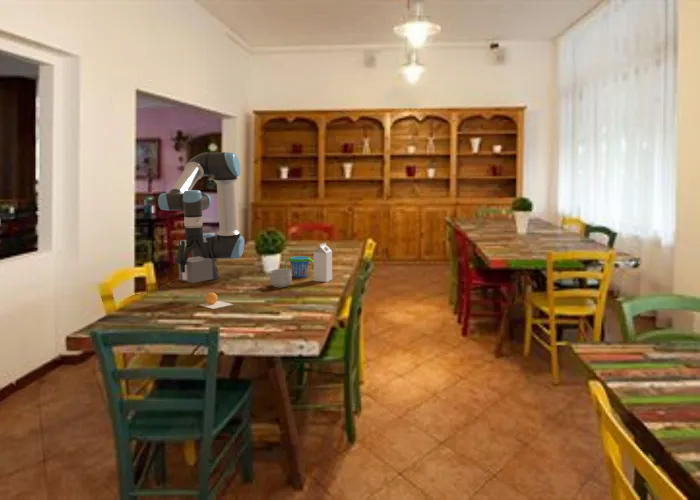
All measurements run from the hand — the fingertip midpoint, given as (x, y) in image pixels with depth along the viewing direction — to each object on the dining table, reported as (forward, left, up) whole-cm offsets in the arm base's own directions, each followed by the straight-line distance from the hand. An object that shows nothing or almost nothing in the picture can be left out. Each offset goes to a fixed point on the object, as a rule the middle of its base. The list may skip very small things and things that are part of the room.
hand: (196, 277), depth 252 cm
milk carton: (+11, +68, -10) cm, 69 cm away
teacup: (+5, +45, -10) cm, 46 cm away
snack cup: (-6, +68, -10) cm, 69 cm away
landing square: (+14, 0, -10) cm, 17 cm away
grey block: (0, 0, -1) cm, 1 cm away
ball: (+12, -1, -7) cm, 14 cm away
